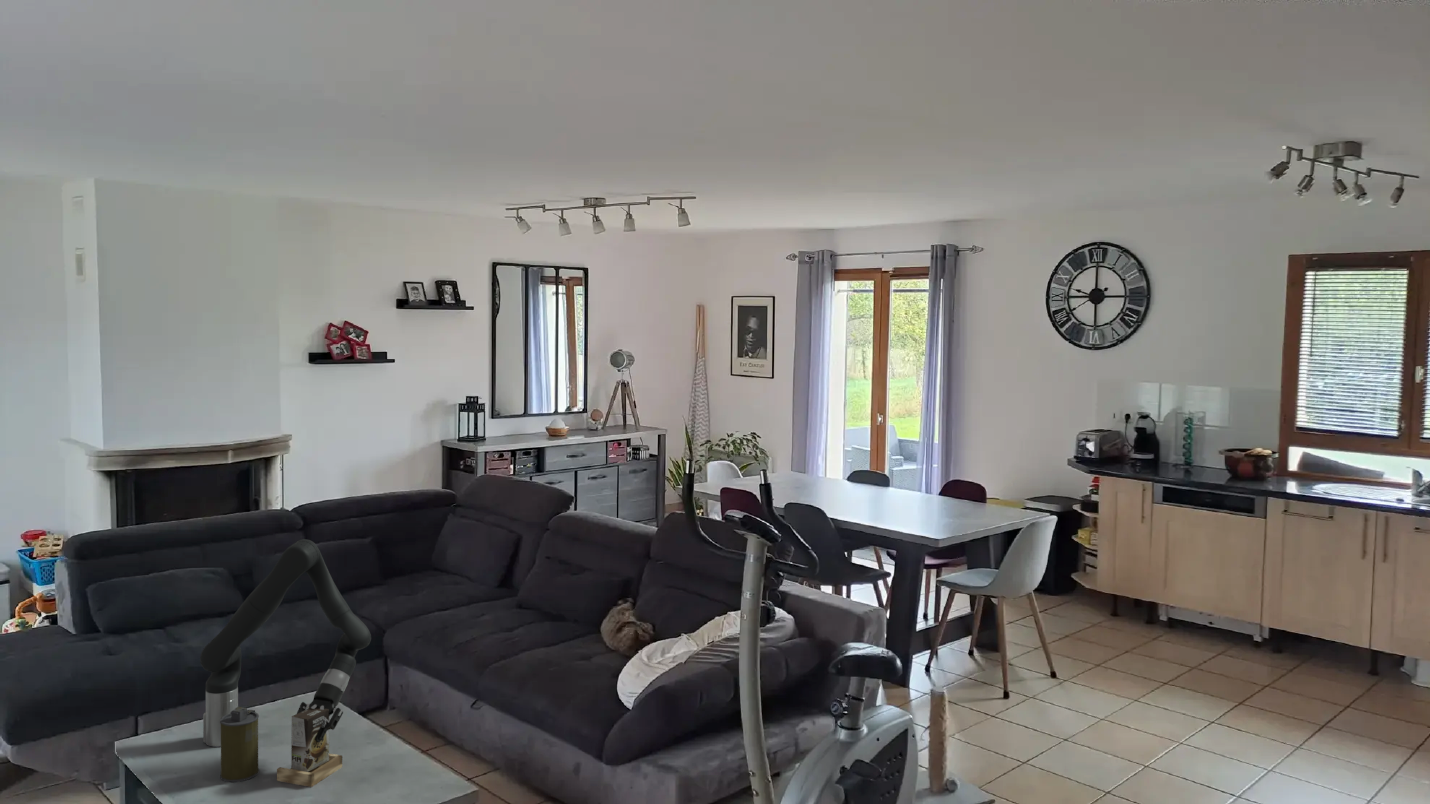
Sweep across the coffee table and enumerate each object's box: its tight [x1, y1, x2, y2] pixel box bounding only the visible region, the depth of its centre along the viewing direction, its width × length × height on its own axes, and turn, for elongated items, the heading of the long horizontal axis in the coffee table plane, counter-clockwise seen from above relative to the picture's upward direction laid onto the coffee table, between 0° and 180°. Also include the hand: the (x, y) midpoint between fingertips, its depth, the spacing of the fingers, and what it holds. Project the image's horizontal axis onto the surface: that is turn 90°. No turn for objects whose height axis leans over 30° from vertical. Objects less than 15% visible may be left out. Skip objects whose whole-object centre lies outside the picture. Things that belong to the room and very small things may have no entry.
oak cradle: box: [276, 752, 343, 788], centre depth 298 cm, size 12×14×4 cm
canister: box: [219, 706, 260, 783], centre depth 296 cm, size 11×10×20 cm
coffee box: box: [290, 708, 330, 772], centre depth 297 cm, size 9×6×16 cm
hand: (306, 739), depth 296 cm, fingers closed on coffee box, 6 cm apart
